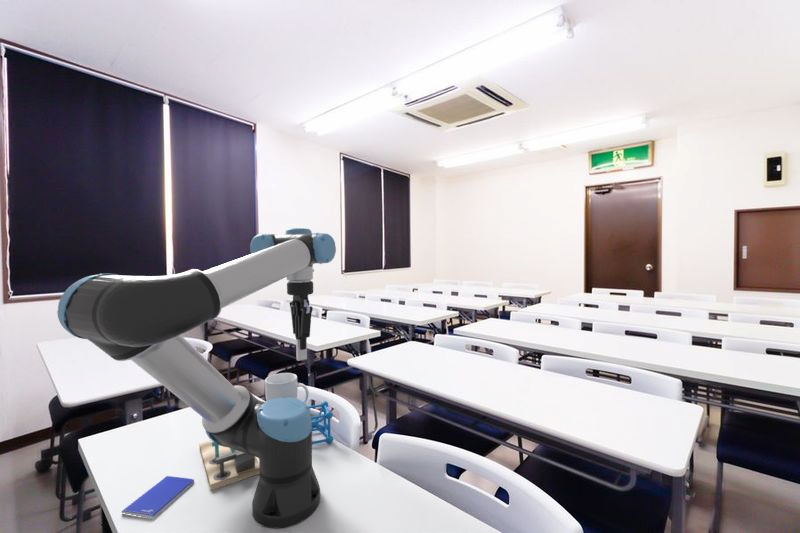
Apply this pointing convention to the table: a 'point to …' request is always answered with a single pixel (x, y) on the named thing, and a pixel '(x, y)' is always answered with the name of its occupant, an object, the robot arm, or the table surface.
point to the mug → (283, 386)
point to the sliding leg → (218, 449)
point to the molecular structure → (324, 427)
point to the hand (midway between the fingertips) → (301, 359)
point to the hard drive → (158, 497)
